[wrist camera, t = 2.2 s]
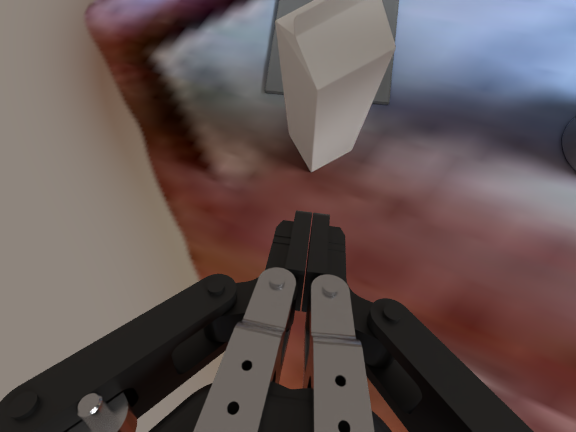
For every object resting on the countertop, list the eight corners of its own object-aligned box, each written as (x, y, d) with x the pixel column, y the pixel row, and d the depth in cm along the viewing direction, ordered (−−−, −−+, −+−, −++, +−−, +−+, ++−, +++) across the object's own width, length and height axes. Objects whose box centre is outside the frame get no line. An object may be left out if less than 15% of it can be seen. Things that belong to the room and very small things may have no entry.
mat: (288, -56, 43) (288, -61, 43) (402, -49, 42) (403, -54, 42) (265, 92, 40) (264, 90, 40) (387, 104, 39) (389, 102, 38)
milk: (351, 150, 39) (417, 9, 17) (310, 173, 38) (321, 60, 17) (328, 111, 39) (360, -72, 18) (287, 133, 39) (268, -24, 17)
